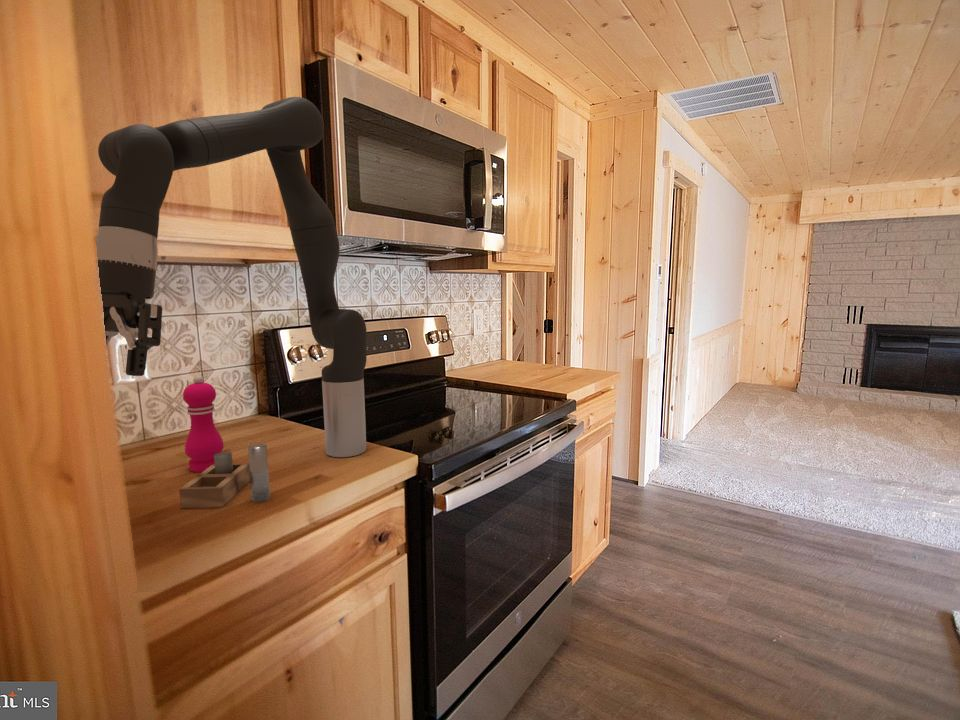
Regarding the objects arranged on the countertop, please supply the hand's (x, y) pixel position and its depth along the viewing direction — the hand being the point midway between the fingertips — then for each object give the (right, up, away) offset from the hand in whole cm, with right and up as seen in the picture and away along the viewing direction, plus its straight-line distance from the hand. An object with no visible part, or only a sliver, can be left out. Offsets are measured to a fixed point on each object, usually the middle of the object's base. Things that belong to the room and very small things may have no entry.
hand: (114, 373), depth 70 cm
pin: (+14, -23, +17) cm, 32 cm away
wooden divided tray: (+4, -23, +20) cm, 31 cm away
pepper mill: (-5, -21, +33) cm, 40 cm away
